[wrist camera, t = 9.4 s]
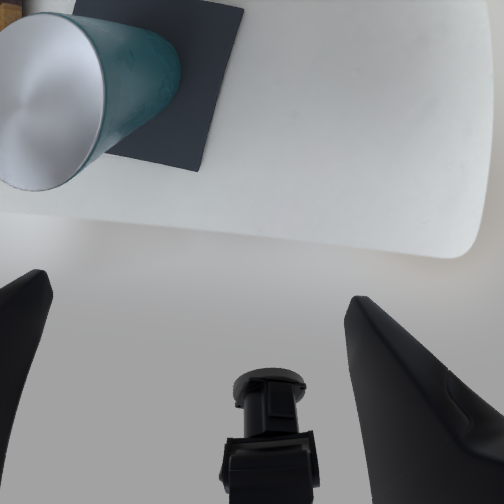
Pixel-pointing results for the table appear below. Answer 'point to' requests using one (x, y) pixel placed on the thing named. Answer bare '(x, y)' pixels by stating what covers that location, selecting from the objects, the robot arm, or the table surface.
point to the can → (75, 93)
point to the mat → (192, 72)
